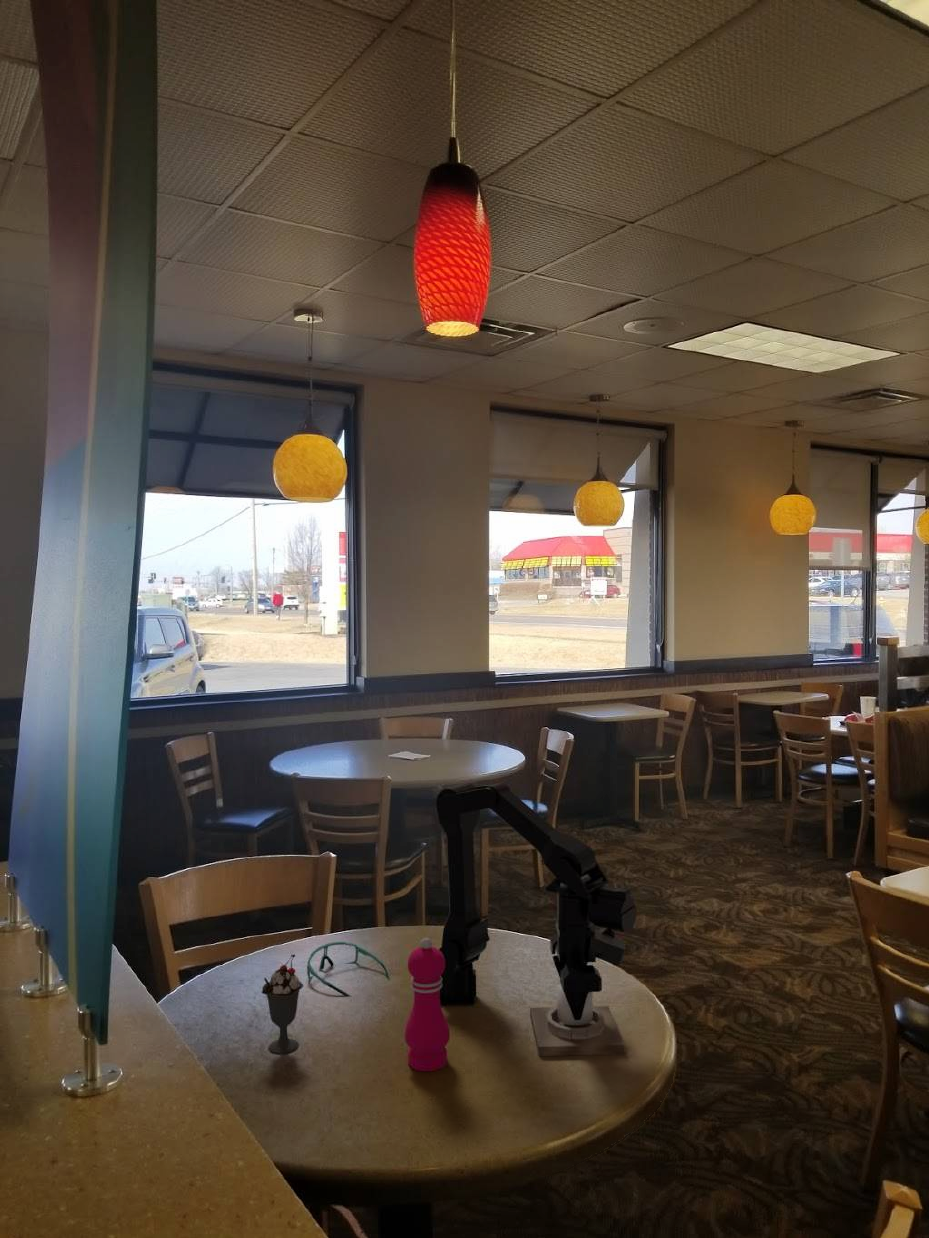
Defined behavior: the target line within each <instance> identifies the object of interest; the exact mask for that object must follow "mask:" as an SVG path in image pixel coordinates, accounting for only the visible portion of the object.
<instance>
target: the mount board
mask: <svg viewBox="0 0 929 1238" xmlns="http://www.w3.org/2000/svg"><path fill="white" fill-rule="evenodd" d="M529 1017H530V1022H531V1026H532V1031H533V1037H534V1039H535V1045H536V1050H537V1054H538V1057H549V1056H550V1057H551V1056H554V1057H556V1056H592V1055H593V1056H597V1055H600V1056H601V1055H625V1054H626V1053H625V1043H624V1040H623V1039H622V1036H621V1033H620V1030H619V1029H618V1026H617V1024H616V1021H615V1019H614V1016H613V1014H612V1012H611V1010H610V1007H609V1005H606V1006H605V1005H604V1006H603V1005H602V1006H601V1005H600V1006H597V1005H596V1006H595V1005H594V1006H593V1020H592V1021H591V1022H590V1023H588V1024H585V1025H568V1024H565V1023H563V1022H561V1021H560V1020H559V1019H558V1018H557V1005H556V1006H554V1007H550V1006H549V1007H545V1006H544V1007H529Z"/></svg>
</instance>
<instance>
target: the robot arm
mask: <svg viewBox="0 0 929 1238" xmlns="http://www.w3.org/2000/svg"><path fill="white" fill-rule="evenodd" d="M435 809H436V814H437V818H438V819H437V820H438V823H439V824H440V826H441V827H442V829H443V831H444V833H445V836H446V849H447V851H446V852H447V869H448V870H447V873H448V875H447V876H448V895H449V897H448V899H449V900H448V901H449V902H448V903H449V913H448V916H447V919H446V921H445V924H444V925H443V926H444V927H443V929H442V937H441V947H440V948H439V949H438V950H440V951H441V952H442V954H443V956H444V959H445V969H444V972H443V973H442V974H441V977H442V988H441V989H440V993H439V997H440V1005H441V1006H447V1005H449V1006H452V1005H453V1006H456V1005H463V1006H464V1005H474V1004H475V998H476V997H477V971H476V969H474V965H473V963H474V962H476V961H478V960H479V959H480V956H481V954H482V953H483V952H485V949H486V948H487V945H488V942H489V941H491V939H490V936H489V920H488V919H487V918H482V917H481V916H480V914H479V912H478V910H477V902H476V901H477V900H476V899H477V898H476V897H477V896H476V894H477V893H476V873H475V872H476V871H475V870H476V869H475V854H474V853H475V851H474V850H475V849H474V848H475V847H474V845H475V844H474V831H475V829H476V827H477V825H478V824H477V823H478V821H479V819H480V815H481V810H486V809H487V810H488V809H489V810H491V811H492V812H493V813H494V814H496V815H497V816H498V817H499V818H500V819H502V821H503V822H504V823H506V824H507V825H508V826H509V827H510V828H512V829H513V830H514V831H515V832H516V833H517V834H519V835H520V837H522V838H523V839H524V840H525V841H526V842H527V843H528V844H529V845H531V846H532V847H533V848H534V849H535V850H536V851H537V852H538V853H539V855H540V856H541V858H542V861H543V864H544V866H545V867H546V868H547V870H548V871H549V872H550V873H551V874H552V876H553V877H554V878H553V880H552V881H551V883H549V884H548V885H547V886H545V891H547V892H550V893H554V894H557V898H556V899H557V903H556V904H557V909H556V910H557V917H556V920H555V928H556V931H557V933H556V932H555V933H554V934H552V936H551V937H550V938H549V949H550V953H551V955H553V956H552V960H553V963H554V966H555V969H556V972H557V975H558V978H559V979H560V980H559V982H560V983H561V986H562V989H563V991H564V994H565V997H566V999H567V1002H568V1004H569V1007H570V1009H571V1012H572V1015H573V1017H574V1020H581V1017H582V1013H583V1010H584V1006H585V1002H586V999H587V995H588V993H589V992H593V993H600V992H602V990H603V980H602V976H601V974H600V972H599V970H598V969H597V968H596V966H594V965H593V964H588V963H596V962H597V959H598V960H601V961H604V962H607V963H610V964H612V965H613V966H615V967H620V966H621V965H622V961H623V958H624V955H625V952H626V950H627V948H626V945H625V944H624V942H623V940H621V938H619V937H618V936H616V935H615V931H617V932H621V933H625V934H629V933H631V931H632V930H633V929H634V926H635V924H636V919H637V913H638V912H637V911H638V908H637V906H636V902H635V899H634V898H633V897H632V896H631V890H630V888H624V887H621V888H619V887H613V886H609V884H610V881H609V879H608V878H607V876H606V874H605V873H604V871H603V869H602V868H601V867H600V865H599V863H598V861H597V859H596V853H595V850H593V848H592V847H591V846H589V845H588V844H586V843H585V842H583V841H581V840H580V839H579V838H576V837H575V836H573V835H571V834H566V833H564V832H561V831H560V830H558V829H556V828H554V827H553V825H551V824H550V823H549V822H547V820H546V819H544V818H543V817H542V816H540V815H539V814H538V813H537V812H536V811H535V810H533V808H532V807H530V806H529V805H528V804H527V803H525V801H524V800H522V799H521V798H520V797H518V796H517V795H516V794H515V793H514V792H512V791H511V788H510V787H509V786H508V785H507V784H505V783H501V782H497V783H494V784H488V785H487V784H486V785H479V786H474V785H473V784H471V783H468V782H464V783H461V784H455V785H454V786H450V787H447V788H444V789H442V790H441V791H440V792H439V793H438V794H437V795H436V798H435ZM587 877H589V878H590V879H589V880H586V881H583V880H584V878H587ZM592 924H593V925H594V927H598V928H600V929H599V930H598V929H597V930H596V931H595V930H594V929H593V927H592ZM555 954H556V955H555ZM560 983H559V984H560Z"/></svg>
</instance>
